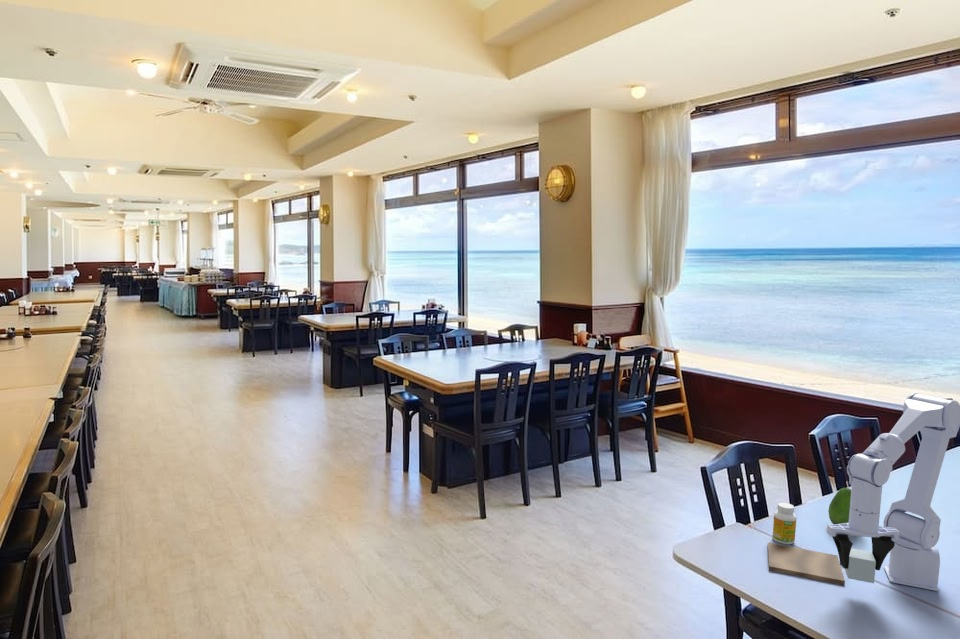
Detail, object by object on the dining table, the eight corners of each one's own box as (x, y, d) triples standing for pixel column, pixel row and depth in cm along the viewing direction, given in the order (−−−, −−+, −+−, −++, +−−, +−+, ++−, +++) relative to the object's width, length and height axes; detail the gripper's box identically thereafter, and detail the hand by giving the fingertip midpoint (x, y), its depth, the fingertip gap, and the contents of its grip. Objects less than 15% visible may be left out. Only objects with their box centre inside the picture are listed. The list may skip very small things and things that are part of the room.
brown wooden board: (837, 559, 159) (837, 555, 159) (844, 585, 146) (844, 581, 146) (767, 546, 165) (767, 542, 165) (768, 570, 152) (769, 566, 152)
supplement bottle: (782, 545, 166) (784, 510, 165) (767, 536, 171) (770, 502, 170) (799, 543, 167) (801, 508, 166) (784, 535, 172) (787, 500, 171)
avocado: (851, 537, 172) (855, 494, 171) (822, 527, 178) (825, 486, 177) (864, 530, 176) (868, 489, 175) (835, 520, 183) (839, 480, 182)
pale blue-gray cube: (869, 573, 142) (871, 551, 142) (874, 583, 138) (875, 561, 137) (844, 568, 144) (846, 547, 144) (847, 578, 140) (849, 556, 139)
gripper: (888, 503, 143) (883, 560, 144) (822, 500, 144) (818, 557, 145) (907, 516, 136) (901, 575, 137) (837, 512, 137) (832, 572, 138)
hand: (859, 567), depth 141 cm, fingers closed on pale blue-gray cube, 6 cm apart
